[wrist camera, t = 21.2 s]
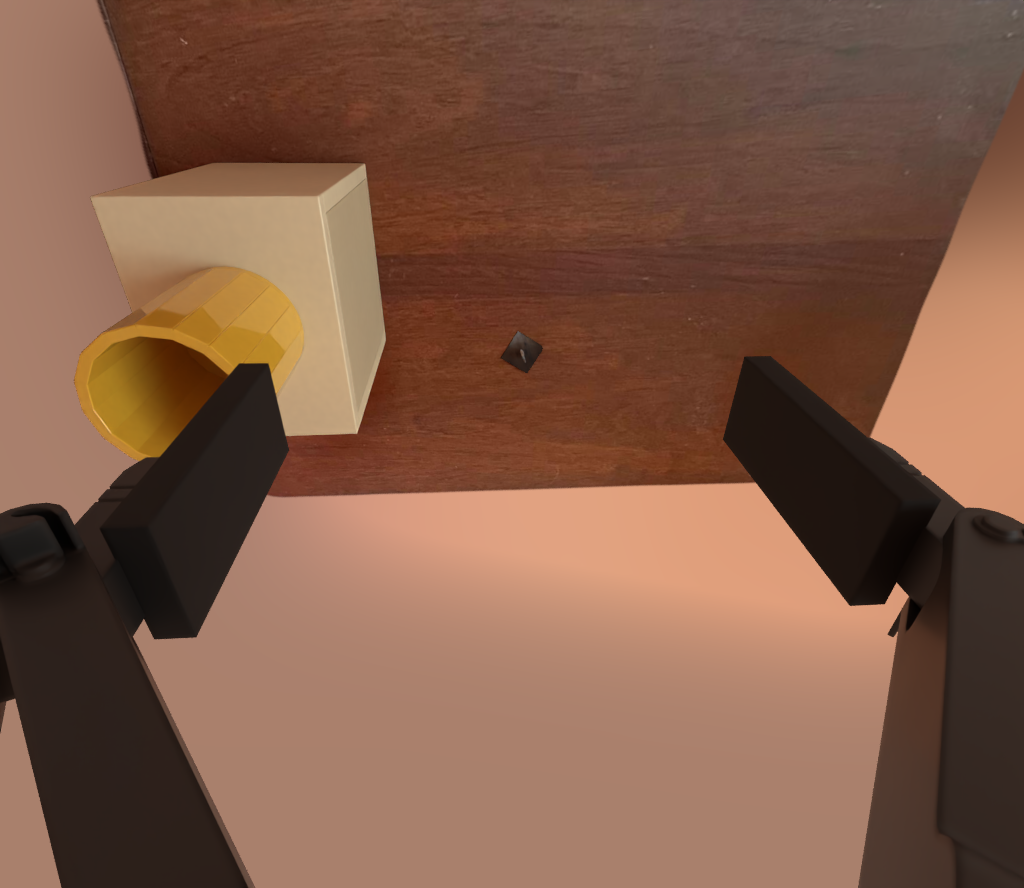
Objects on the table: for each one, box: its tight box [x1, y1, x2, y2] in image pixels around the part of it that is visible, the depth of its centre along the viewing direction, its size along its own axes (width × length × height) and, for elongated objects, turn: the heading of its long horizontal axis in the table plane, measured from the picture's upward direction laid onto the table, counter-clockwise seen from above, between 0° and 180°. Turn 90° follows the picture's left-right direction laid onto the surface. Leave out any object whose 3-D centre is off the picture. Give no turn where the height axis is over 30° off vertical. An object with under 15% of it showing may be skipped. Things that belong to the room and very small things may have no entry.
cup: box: [74, 266, 304, 461], centre depth 27 cm, size 7×7×9 cm
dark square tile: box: [501, 332, 543, 373], centre depth 50 cm, size 3×3×1 cm
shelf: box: [90, 163, 386, 436], centre depth 38 cm, size 14×11×16 cm
